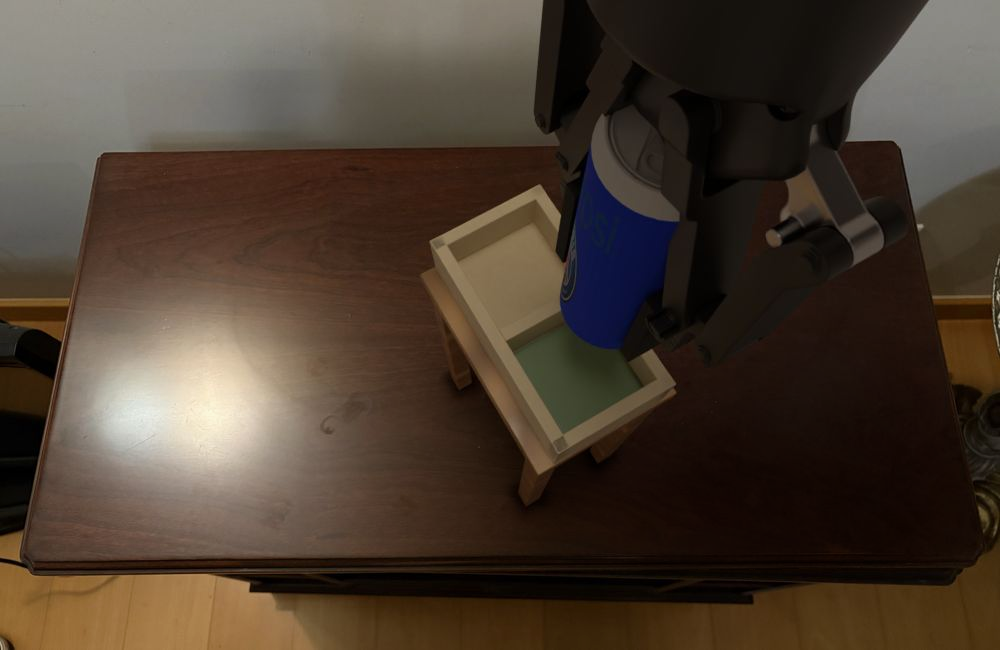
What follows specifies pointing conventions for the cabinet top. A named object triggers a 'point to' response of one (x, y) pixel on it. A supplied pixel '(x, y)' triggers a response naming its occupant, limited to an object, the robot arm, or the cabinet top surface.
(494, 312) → the tray
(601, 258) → the beverage can
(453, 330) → the shelf
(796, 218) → the robot arm
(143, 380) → the cabinet top surface
